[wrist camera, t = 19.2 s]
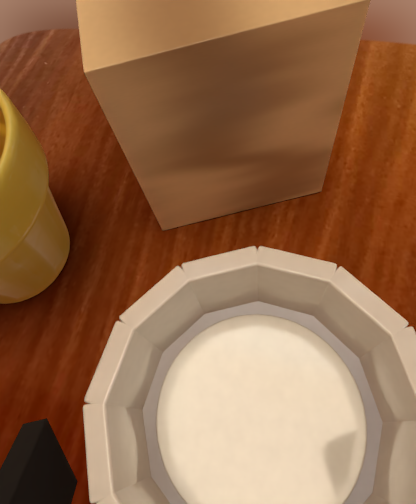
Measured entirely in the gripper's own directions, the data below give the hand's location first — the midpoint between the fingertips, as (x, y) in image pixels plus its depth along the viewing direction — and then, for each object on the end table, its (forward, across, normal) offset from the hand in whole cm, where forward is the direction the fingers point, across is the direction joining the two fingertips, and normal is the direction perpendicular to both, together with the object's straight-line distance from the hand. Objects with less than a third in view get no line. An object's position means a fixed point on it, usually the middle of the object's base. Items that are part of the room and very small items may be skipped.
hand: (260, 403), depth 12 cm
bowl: (+4, 0, -5) cm, 6 cm away
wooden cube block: (+17, +2, +6) cm, 18 cm away
